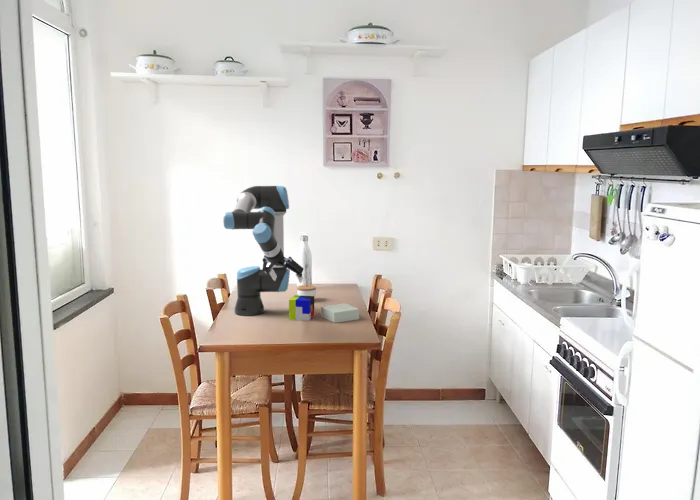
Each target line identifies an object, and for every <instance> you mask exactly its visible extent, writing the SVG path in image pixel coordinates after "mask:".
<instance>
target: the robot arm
mask: <svg viewBox="0 0 700 500" xmlns="http://www.w3.org/2000/svg"><path fill="white" fill-rule="evenodd" d="M289 209H290V200H289V195H288V190H287V187H285V186H283V185H255V186H254V185H253V186H250V187H248V188H246V189H244V190H243V191H241V192H240V193H239V195H237V198H236V204H235V206H234V208H233V210H232V211H226V212H224V214H223V218H222V220H223V221H222V222H223V227H224V228H225V229H226V230H252V235H253V237H254V239H255V241H256V242H257V244H258V246H259V247H260V249H261V251H262V253H263V254H264V256H263V258H262V263H263V264H262V269H261V267H260V266H258V265H257V266H256V265H253V266H247V267H243V268H240V269H238V270H237V272H236V289H237V299H236V302H235V306H234V314H235V313H236V314H235V315H237V314H238V316H256V315H261V314H264V312H265V305H264V303H263V301H262V297H261V293H285V292H286V291H287V290H288V287H289V284H290V283H289V282H290V275H291V273H290V272H291V271H292V272H294V273H295V276H296V278H297V280H298V282H299V283H300V284H301V283H302V282H303V279H304V277H303V271H304V269H305V268H304V267H302V266H301V265H300V264H299V263H298V262H296V261H295V260H294V259H293V258H292V257H291V256H288V257H285V244H284V243H285V242H284V240H285V239H284V237H285V236H284V235H285V233H284V216H285V215H286V214H287V210H289ZM252 210H258V211H252Z"/></svg>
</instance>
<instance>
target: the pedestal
mask: <svg viewBox="0 0 700 500" xmlns="http://www.w3.org/2000/svg"><path fill="white" fill-rule="evenodd" d="M320 317H321V318H323V319H326V320H327V321H329V322H332V323H334V324H335V323H336V324H337V323H342V322H348V321H354V320H360V308H357V307H355V306H352V305H350V304H348V303H339V304H338V303H337V304H332V305H324V306H322V305H321V306H320Z"/></svg>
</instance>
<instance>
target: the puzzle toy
mask: <svg viewBox="0 0 700 500" xmlns="http://www.w3.org/2000/svg"><path fill="white" fill-rule="evenodd" d="M288 315H289V316H288V317H289V319H288V320H289V321H290V320H292V321H310V320H311V319H313V317H314V316H315V297H314V296H300V295H298V294H297V295H295V294H294V295H293V296H292V297H290V298H289V299H288Z"/></svg>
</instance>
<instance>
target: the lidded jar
mask: <svg viewBox="0 0 700 500" xmlns="http://www.w3.org/2000/svg"><path fill="white" fill-rule="evenodd" d="M296 292H297V295H300V296H314V298H315V297H316V293H317V286H315V285H313V284H307V283H305V284H304V285H298V286H297V287H296Z"/></svg>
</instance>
